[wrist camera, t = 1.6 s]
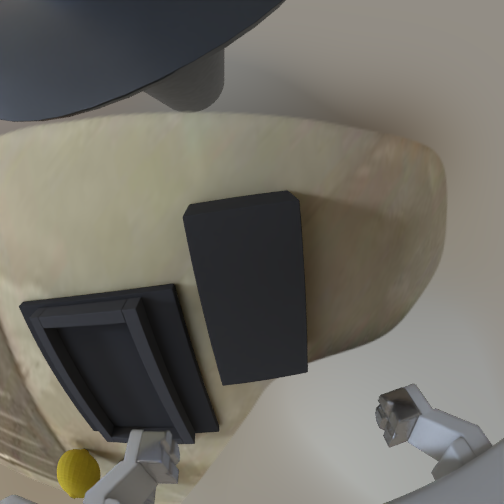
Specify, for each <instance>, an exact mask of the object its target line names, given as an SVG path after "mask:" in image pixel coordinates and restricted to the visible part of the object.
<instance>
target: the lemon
mask: <svg viewBox="0 0 504 504" xmlns="http://www.w3.org/2000/svg"><path fill="white" fill-rule="evenodd" d="M57 478H58V482H59V484H60V486H61V487H62V488H63V490H64V491H65V492H67V493H68V494H69V496H70V497H71V498H74V499H75V498H84V497H85V493H86V492H87V491H88V490H89V489H90V488H91V487H93V486H94V485H95V484H96V483H97V482H98V481H99V480H100V468H99V465H98V463H97V461H96V460H95V459H94V458H93V457H92V456H91V455H90V454H89V452H88V450H86V449H81V450H78V449H73V450H69V451H67V452H65V453H64V454H63V455H62V456H61V458H60V460H59V462H58V466H57Z"/></svg>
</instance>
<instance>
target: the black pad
mask: <svg viewBox="0 0 504 504" xmlns="http://www.w3.org/2000/svg"><path fill="white" fill-rule="evenodd" d="M183 222H184V227H185V232H186V237H187V242H188V246H189V251H190V256H191V261H192V265H193V270H194V274H195V279H196V283H197V288H198V292H199V296H200V301H201V305H202V309H203V313H204V317H205V321H206V325H207V329H208V333H209V337H210V341H211V345H212V348H213V352H214V356H215V360H216V363H217V367H218V371H219V374H220V378H221V381H222V385H223V386H224V385H232V384H240V383H247V382H254V381H261V380H268V379H274V378H279V377H285V376H291V375H296V374H301V373H306V372H308V360H307V320H306V295H305V275H304V258H303V242H302V228H301V215H300V203H299V199H297V198H296V197H295V196H294V195H292V194H291V193H290V192H289V191H279V192H271V193H263V194H255V195H248V196H241V197H234V198H227V199H221V200H214V201H208V202H202V203H196V204H190V205H189V206H188V208H187V210H186V212H185V214H184V215H183Z"/></svg>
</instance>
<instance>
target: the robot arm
mask: <svg viewBox="0 0 504 504" xmlns="http://www.w3.org/2000/svg"><path fill="white" fill-rule="evenodd" d="M378 401H379V403H380V405H379V406H378V407H377V408H376V412H375V414H376V421H377V424H378V426H379V428H381V429H383V430H385V432H384V435H383V436H384V438H385V440H386V442H387V444H388V446H389V447H392V446H395V445H398V444H400V443H403V442H406V441H408V443H410V444H411V445H413V446H415V447H416V448H418V449H419V450H421V451H423V452H424V453H426V454H428V455H429V456H431V457H432V458H434V459H436V460H437V461H439V462H438V463H437V465H436V466H435V467H434V469H433V470H432V475H433V477H434V479H435V481H434V482H432V483H430V484H428V485H426V486H424V487H422V488H419V489H417V490H415V491H413V492H411V493H409V494H406V495H404V496H401V497H399V498H397V499H394V500H392V501H389V502H386V503H384V504H504V438H503V439H502V440H500V441H499V442H498V443H496V444H495V445H493V446H492V444H491V443H490V441H489V440H488V438H487V437H486V436H485V434H484V433H483V431H482V430H481V429H480V427H479V426H478V425H475V424H472V423H470V422H468V421H465V420H463V419H460V418H458V417H455V416H453V415H450V414H448V413H446V412H443V411H441V410H439V409H432V407H431V406H430V404H429V403H428V401H427V400H426V398H425V397H424V396H423V394H422V393H421V391H420V390H419V388H418V387H417V386H416V385H415V384H410V385H408V386H405V387H403V388H399V389H396V390H393V391H391V392H388V393H385V394H382V395H380V397H379V400H378ZM179 461H180V452H179V447H178V444H177V442H176V441H175V440H173V439H172V434H171V432H170V431H169V430H137V429H132V431H131V432H130V436H129V440H128V444H127V448H126V452H125V457H124V461H120V462H119V463H118V464H117V465H116V466H115V467H113V468H112V469H111V470H110V471H109V472H108V473H107V474H106V475H105V476H104V477H103V478H101V479H100V480H99V481H98V482H97V483H96V484H95V485H94V486H93V487H91V488H90V489H89V490H88V491H87V492H86V493H85V497H84V501H83V504H143V503H144V502H145V500H146V499H147V498H148V496H149V495H150V494H151V493H152V491H153V490H154V489H155V487H156V486H157V485H158V484H157V483H171V484H178V474H179V470H178V469H177V467H176V465H177V463H178V462H179ZM0 504H37V503H35V502H32V501H30V500H27V499H25V498H23V497H20V496H18V495H11V496H8V497H6V498H5V499H3V500H1V501H0Z"/></svg>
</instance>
